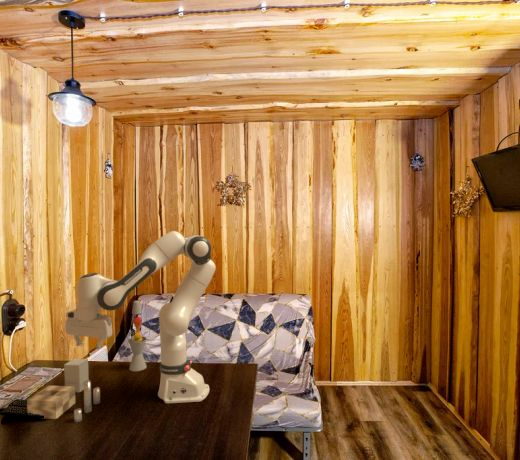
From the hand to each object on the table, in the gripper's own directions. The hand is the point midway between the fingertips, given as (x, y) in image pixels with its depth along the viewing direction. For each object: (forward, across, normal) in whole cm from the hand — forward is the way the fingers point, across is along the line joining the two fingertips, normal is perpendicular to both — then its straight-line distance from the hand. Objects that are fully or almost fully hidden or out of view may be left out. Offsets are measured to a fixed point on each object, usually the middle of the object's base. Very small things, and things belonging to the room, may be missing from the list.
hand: (88, 346), depth 144 cm
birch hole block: (+26, +13, +5) cm, 29 cm away
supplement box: (+26, +17, -13) cm, 33 cm away
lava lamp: (+25, +3, -39) cm, 47 cm away
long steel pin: (+25, -2, +2) cm, 26 cm away
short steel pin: (+26, -2, +8) cm, 27 cm away
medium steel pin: (+25, 0, -4) cm, 26 cm away
